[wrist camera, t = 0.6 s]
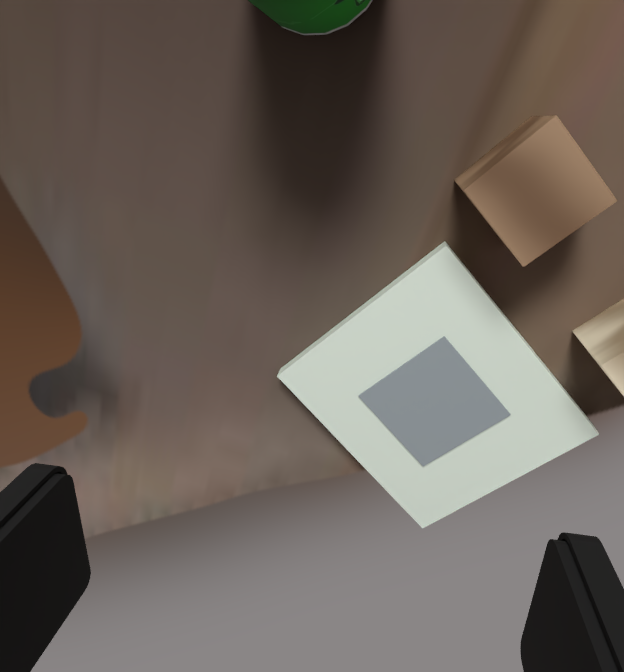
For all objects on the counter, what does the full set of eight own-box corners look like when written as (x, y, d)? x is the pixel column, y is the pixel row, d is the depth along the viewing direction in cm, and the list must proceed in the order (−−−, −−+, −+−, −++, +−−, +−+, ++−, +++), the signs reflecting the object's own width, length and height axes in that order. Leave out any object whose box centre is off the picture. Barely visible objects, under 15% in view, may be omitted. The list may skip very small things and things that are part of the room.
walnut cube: (531, 116, 28) (556, 115, 23) (582, 188, 28) (617, 200, 24) (453, 180, 29) (463, 190, 25) (505, 245, 30) (523, 267, 26)
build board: (444, 241, 31) (446, 246, 29) (593, 424, 34) (600, 435, 32) (280, 368, 36) (276, 377, 35) (421, 517, 39) (422, 530, 38)
